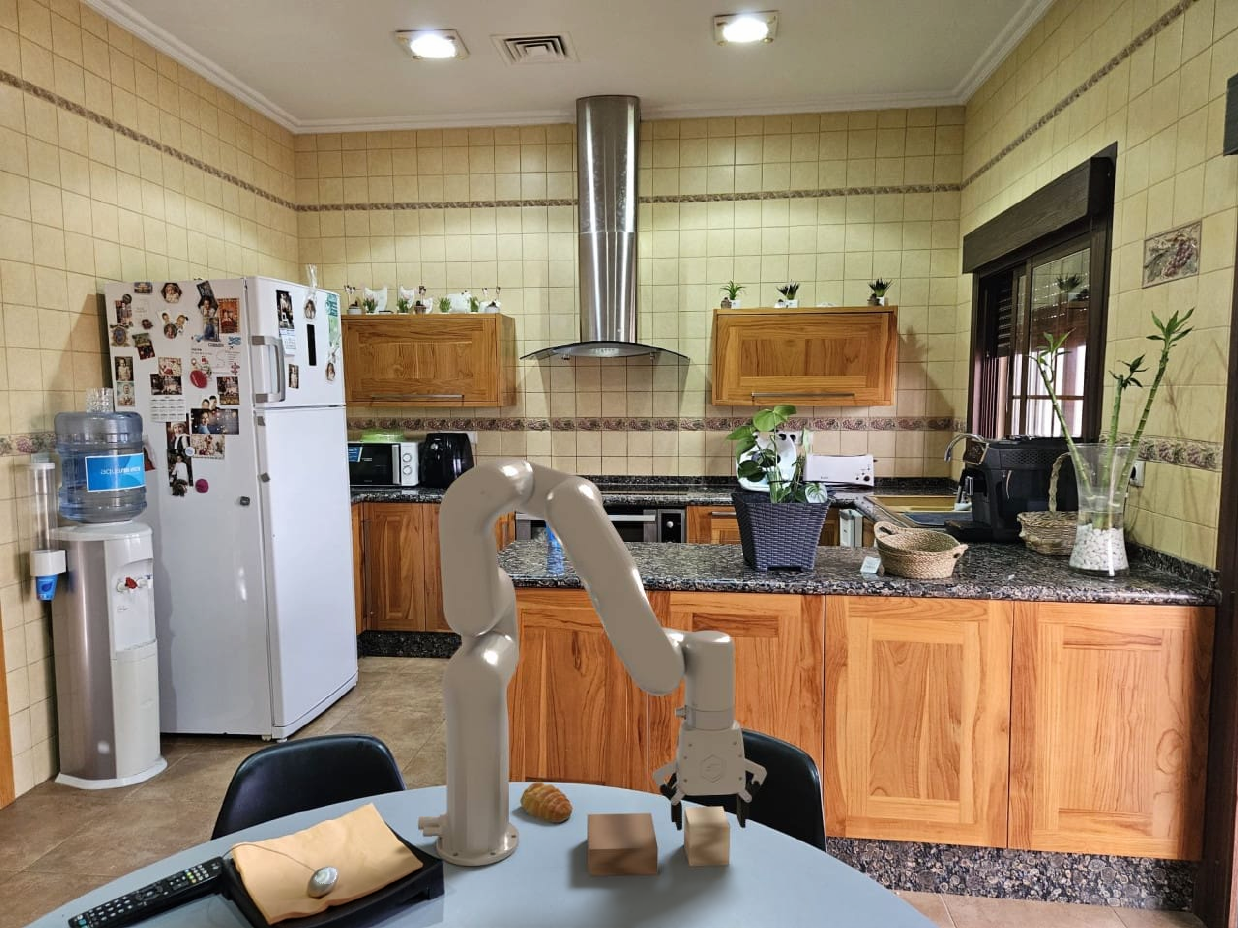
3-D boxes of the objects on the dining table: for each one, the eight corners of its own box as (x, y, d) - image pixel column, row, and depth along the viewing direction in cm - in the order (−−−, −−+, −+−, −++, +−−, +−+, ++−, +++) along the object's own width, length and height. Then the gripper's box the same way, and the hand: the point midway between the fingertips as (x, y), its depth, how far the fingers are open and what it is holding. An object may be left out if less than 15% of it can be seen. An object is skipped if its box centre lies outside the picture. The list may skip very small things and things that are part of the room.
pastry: (582, 815, 133) (582, 793, 132) (552, 830, 128) (552, 807, 127) (545, 796, 139) (545, 775, 139) (515, 810, 134) (515, 788, 134)
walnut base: (588, 875, 115) (588, 848, 115) (587, 838, 125) (587, 814, 125) (657, 874, 116) (657, 847, 115) (650, 837, 125) (651, 812, 125)
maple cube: (689, 866, 118) (690, 827, 117) (683, 844, 124) (684, 807, 123) (729, 865, 118) (730, 826, 118) (721, 843, 124) (722, 806, 124)
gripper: (655, 726, 115) (655, 840, 116) (772, 722, 116) (772, 835, 117) (650, 707, 123) (650, 814, 124) (760, 703, 124) (760, 810, 125)
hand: (709, 824), depth 121 cm, fingers open, 9 cm apart
